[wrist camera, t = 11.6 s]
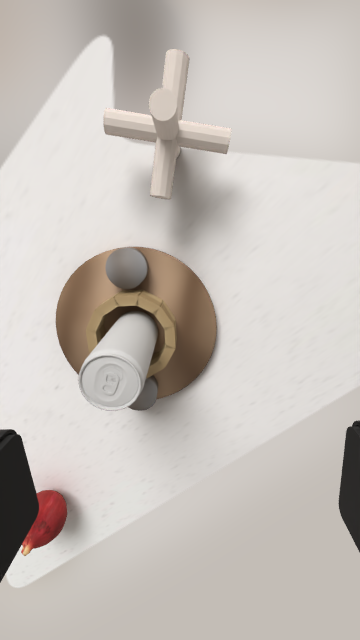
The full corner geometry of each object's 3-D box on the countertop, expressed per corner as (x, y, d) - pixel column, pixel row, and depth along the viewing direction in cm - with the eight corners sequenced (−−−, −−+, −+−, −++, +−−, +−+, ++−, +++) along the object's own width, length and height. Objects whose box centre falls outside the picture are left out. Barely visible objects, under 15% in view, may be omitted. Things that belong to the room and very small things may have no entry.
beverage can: (164, 318, 32) (152, 366, 20) (150, 356, 33) (130, 421, 22) (123, 303, 31) (86, 342, 20) (110, 341, 33) (68, 400, 21)
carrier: (214, 242, 30) (218, 243, 26) (216, 393, 35) (220, 413, 31) (47, 251, 31) (26, 253, 27) (73, 397, 36) (59, 418, 32)
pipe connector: (231, 98, 27) (256, 21, 17) (212, 211, 30) (224, 199, 20) (125, 80, 27) (90, -8, 17) (115, 195, 29) (81, 176, 20)
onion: (31, 476, 40) (-6, 533, 32) (72, 475, 40) (44, 533, 32) (38, 508, 42) (5, 570, 34) (78, 508, 41) (53, 570, 34)
